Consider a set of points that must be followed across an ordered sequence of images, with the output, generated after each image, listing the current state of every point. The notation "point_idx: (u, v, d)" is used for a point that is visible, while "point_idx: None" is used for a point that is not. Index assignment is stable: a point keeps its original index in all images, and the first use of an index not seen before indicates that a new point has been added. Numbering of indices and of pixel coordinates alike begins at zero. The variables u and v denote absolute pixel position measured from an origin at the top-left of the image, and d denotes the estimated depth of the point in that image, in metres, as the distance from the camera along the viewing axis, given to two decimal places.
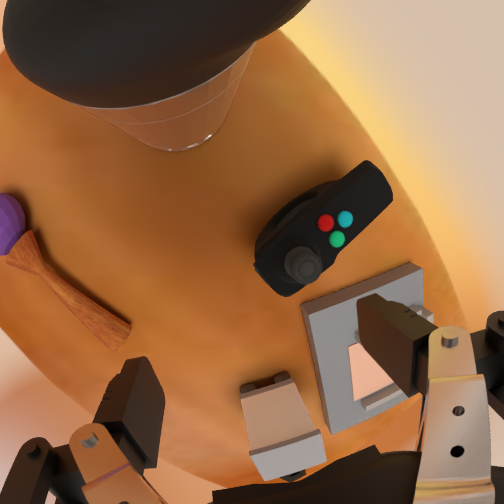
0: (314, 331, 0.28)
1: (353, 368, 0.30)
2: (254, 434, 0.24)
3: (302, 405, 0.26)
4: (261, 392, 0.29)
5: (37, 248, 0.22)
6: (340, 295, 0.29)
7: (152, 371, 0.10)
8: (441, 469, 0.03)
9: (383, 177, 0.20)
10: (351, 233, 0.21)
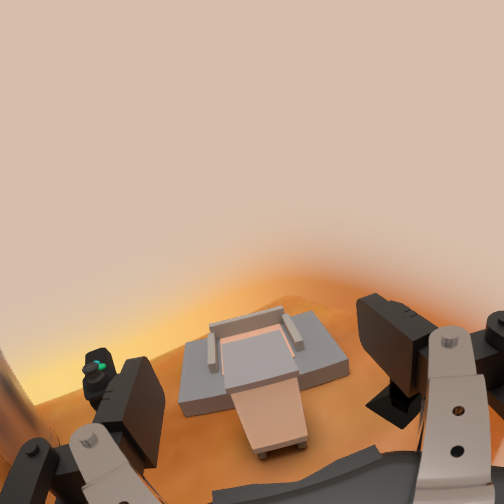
0: (195, 398, 0.30)
1: None
2: None
3: None
4: None
5: None
6: None
7: (152, 371, 0.10)
8: (441, 469, 0.03)
9: (92, 351, 0.34)
10: (105, 362, 0.31)
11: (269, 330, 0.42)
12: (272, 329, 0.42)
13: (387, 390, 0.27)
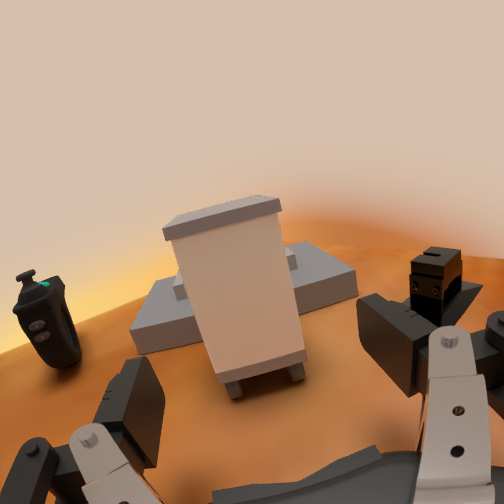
0: (151, 324, 0.24)
1: None
2: None
3: None
4: None
5: None
6: None
7: (152, 371, 0.10)
8: (441, 469, 0.03)
9: (44, 280, 0.28)
10: (51, 283, 0.24)
11: None
12: None
13: (406, 303, 0.21)
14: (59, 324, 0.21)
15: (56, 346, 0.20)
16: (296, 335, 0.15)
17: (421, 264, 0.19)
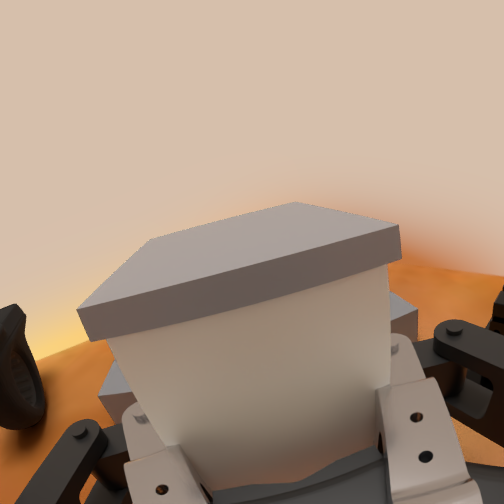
0: (127, 390, 0.15)
1: None
2: None
3: None
4: None
5: None
6: None
7: None
8: (414, 476, 0.03)
9: None
10: (2, 319, 0.16)
11: None
12: None
13: None
14: (6, 383, 0.12)
15: (6, 411, 0.11)
16: None
17: None
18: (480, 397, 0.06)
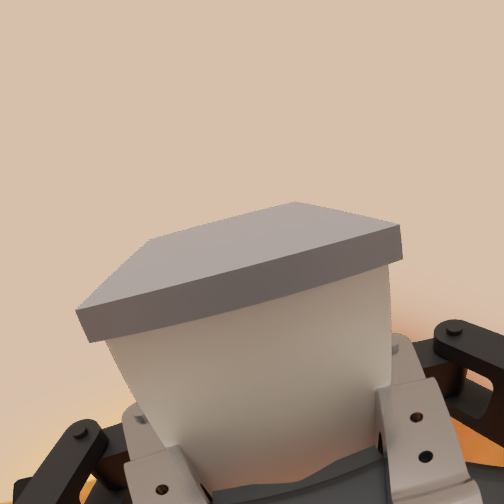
0: None
1: None
2: None
3: None
4: None
5: None
6: None
7: None
8: (414, 477, 0.03)
9: (23, 479, 0.12)
10: None
11: None
12: None
13: None
14: None
15: None
16: None
17: None
18: (480, 397, 0.06)
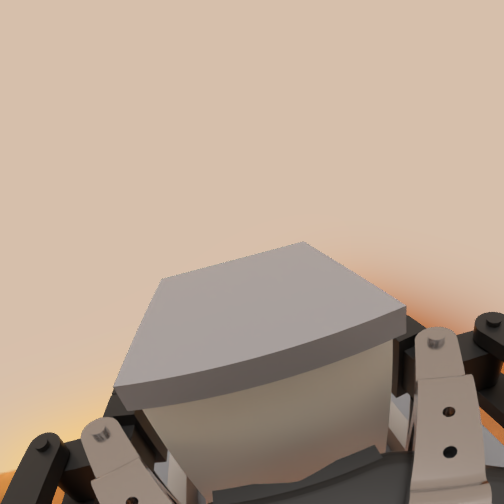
0: None
1: None
2: None
3: None
4: None
5: None
6: None
7: None
8: (435, 470, 0.03)
9: None
10: None
11: None
12: None
13: None
14: None
15: None
16: None
17: None
18: None
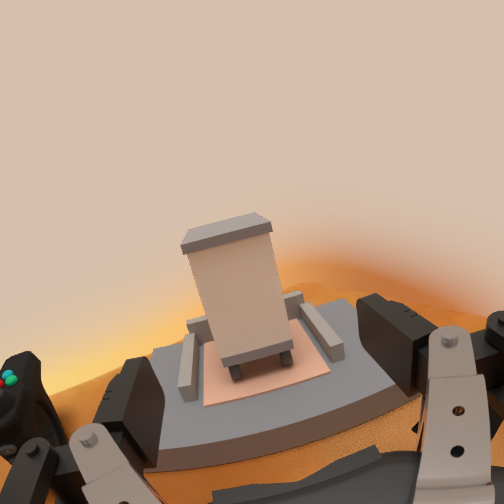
0: None
1: (250, 392, 0.19)
2: None
3: None
4: None
5: None
6: None
7: (152, 371, 0.10)
8: (441, 469, 0.03)
9: (15, 355, 0.19)
10: (20, 374, 0.16)
11: None
12: None
13: None
14: None
15: None
16: (285, 327, 0.19)
17: None
18: None
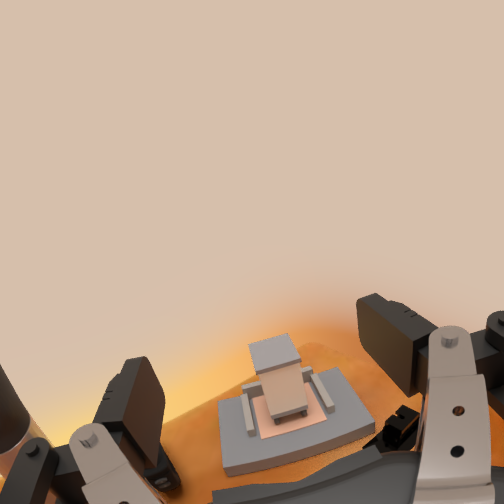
0: (239, 463, 0.30)
1: (285, 430, 0.34)
2: None
3: None
4: None
5: None
6: None
7: (152, 371, 0.10)
8: (441, 469, 0.03)
9: None
10: None
11: None
12: None
13: (381, 435, 0.31)
14: (173, 472, 0.27)
15: (172, 485, 0.26)
16: (304, 400, 0.34)
17: (390, 424, 0.28)
18: None
